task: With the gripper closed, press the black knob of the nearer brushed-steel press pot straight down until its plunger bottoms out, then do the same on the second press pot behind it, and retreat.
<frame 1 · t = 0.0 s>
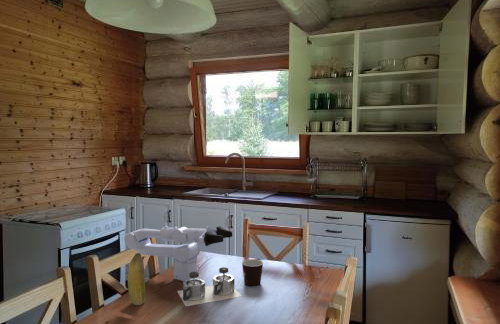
hand: (227, 236, 154), 22 cm above the table, tool horizontal, fingers open, 7 cm apart
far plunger: (223, 274, 150), point 8 cm above the table, slide at 0.0 cm
coffee mug: (253, 285, 159), on the table
near plunger: (194, 279, 145), point 8 cm above the table, slide at 0.0 cm
serving board: (209, 296, 148), on the table
far pot: (223, 291, 151), resting on serving board
vegetable: (136, 306, 140), on the table
near pot: (194, 296, 146), resting on serving board
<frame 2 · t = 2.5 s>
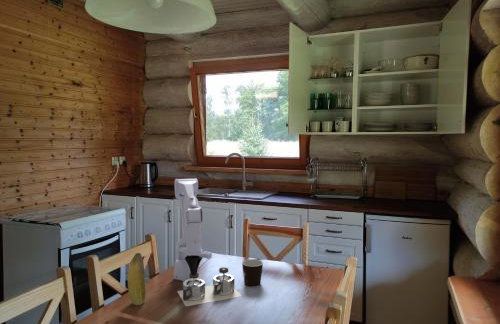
hand: (194, 274, 145), 10 cm above the table, tool pointing down, fingers closed, pressing on near plunger
near plunger: (194, 279, 145), point 8 cm above the table, slide at 0.2 cm, touching gripper
everything else where it was.
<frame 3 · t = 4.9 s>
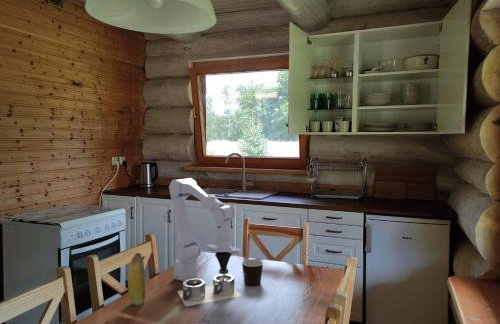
hand: (223, 270, 150), 10 cm above the table, tool pointing down, fingers closed, pressing on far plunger
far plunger: (223, 275, 150), point 7 cm above the table, slide at 0.4 cm, touching gripper
near plunger: (194, 287, 145), point 4 cm above the table, slide at 3.3 cm
everything else where it was.
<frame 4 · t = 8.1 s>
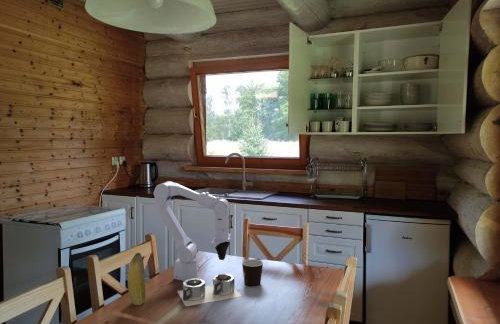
hand: (221, 259, 160), 10 cm above the table, tool pointing down, fingers closed
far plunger: (223, 282, 150), point 4 cm above the table, slide at 3.3 cm
everything else where it was.
at the end: near plunger slide at 3.3 cm; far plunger slide at 3.3 cm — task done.
